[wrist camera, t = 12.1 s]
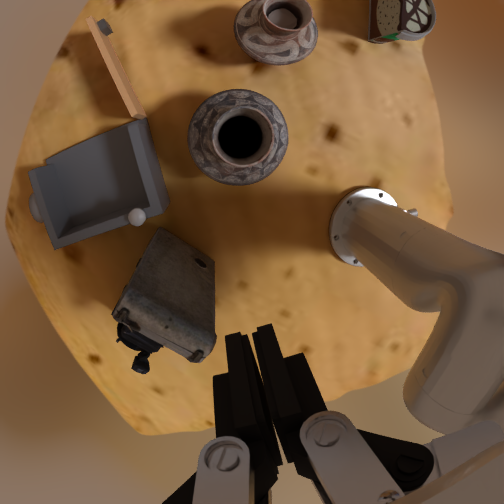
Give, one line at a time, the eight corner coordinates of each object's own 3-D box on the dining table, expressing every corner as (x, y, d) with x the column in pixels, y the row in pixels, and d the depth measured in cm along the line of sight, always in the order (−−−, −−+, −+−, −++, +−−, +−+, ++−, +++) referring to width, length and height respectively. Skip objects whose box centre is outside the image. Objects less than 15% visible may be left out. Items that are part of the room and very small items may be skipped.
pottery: (313, 29, 33) (348, -2, 22) (262, 188, 41) (282, 207, 29) (236, 4, 30) (247, -38, 19) (181, 167, 38) (169, 178, 27)
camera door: (154, 112, 34) (145, 108, 29) (141, 119, 34) (131, 116, 29) (110, 24, 28) (98, 11, 23) (99, 31, 28) (85, 19, 23)
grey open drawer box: (146, 117, 35) (133, 113, 28) (171, 204, 40) (163, 218, 33) (39, 164, 34) (12, 171, 27) (64, 240, 39) (42, 259, 32)
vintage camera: (113, 298, 44) (73, 391, 26) (160, 220, 40) (122, 297, 22) (164, 327, 47) (149, 427, 29) (217, 256, 43) (222, 351, 25)
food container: (400, 62, 35) (440, 52, 26) (367, 49, 34) (404, 33, 25) (401, 4, 31) (436, -14, 22) (369, -10, 30) (401, -33, 21)
